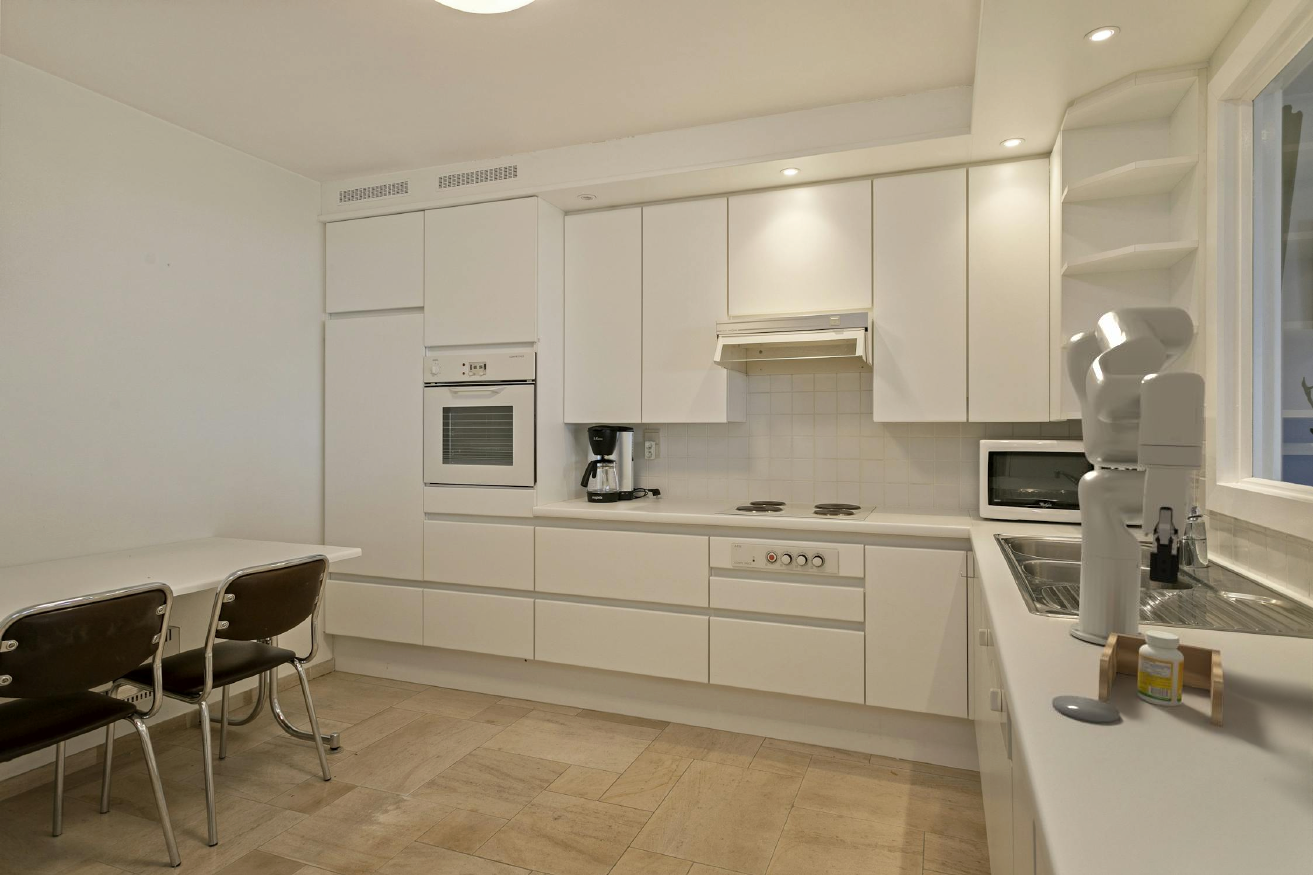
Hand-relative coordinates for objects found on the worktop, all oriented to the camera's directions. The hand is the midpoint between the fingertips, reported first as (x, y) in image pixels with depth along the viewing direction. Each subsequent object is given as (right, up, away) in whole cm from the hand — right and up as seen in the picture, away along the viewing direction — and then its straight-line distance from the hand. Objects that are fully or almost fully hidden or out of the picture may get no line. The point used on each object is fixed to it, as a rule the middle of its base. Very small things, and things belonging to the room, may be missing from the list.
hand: (1164, 576), depth 104 cm
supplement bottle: (0, -18, +1) cm, 18 cm away
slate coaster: (-14, -18, -4) cm, 23 cm away
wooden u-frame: (+1, -18, +2) cm, 18 cm away
